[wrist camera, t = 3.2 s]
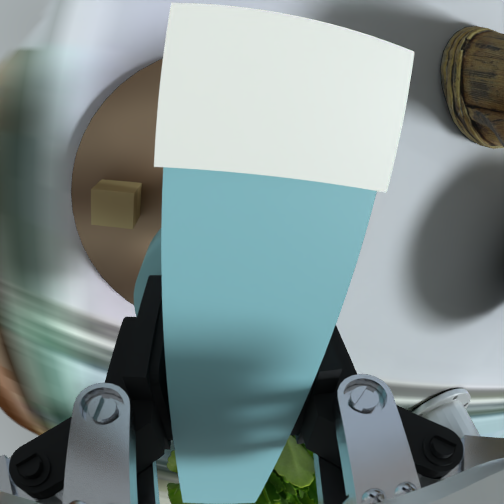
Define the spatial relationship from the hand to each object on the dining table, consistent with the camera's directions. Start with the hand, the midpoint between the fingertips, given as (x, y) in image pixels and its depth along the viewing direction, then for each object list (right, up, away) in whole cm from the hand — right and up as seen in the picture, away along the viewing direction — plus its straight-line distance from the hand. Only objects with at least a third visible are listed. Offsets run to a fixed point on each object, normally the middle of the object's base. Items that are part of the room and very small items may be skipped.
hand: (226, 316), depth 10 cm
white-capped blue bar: (0, +1, +2) cm, 2 cm away
